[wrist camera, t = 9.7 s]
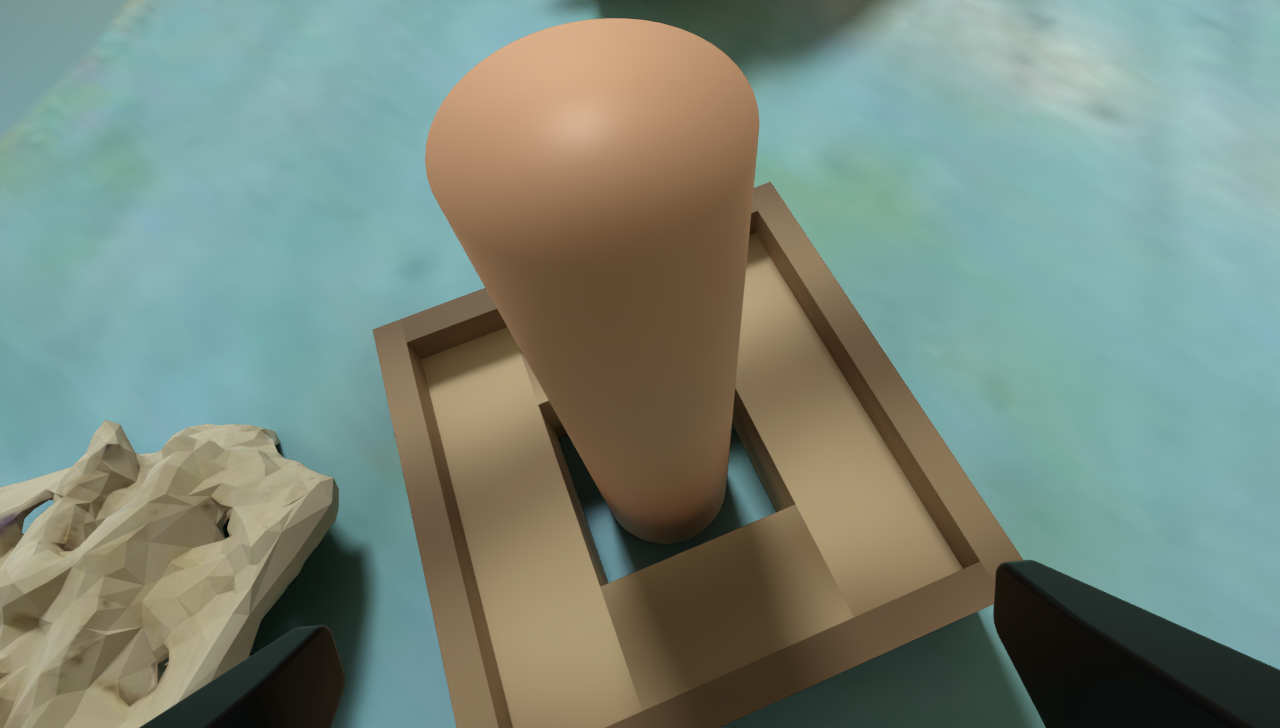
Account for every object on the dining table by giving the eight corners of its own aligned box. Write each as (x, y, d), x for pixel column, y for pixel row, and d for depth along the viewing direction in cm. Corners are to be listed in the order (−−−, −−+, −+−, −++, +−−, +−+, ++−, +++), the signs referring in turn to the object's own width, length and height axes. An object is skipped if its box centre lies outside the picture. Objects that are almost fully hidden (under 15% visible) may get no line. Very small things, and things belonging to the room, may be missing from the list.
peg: (752, 486, 18) (832, 122, 6) (659, 571, 17) (555, 332, 5) (670, 403, 19) (612, -21, 8) (581, 477, 18) (366, 130, 7)
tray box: (974, 603, 16) (1038, 583, 13) (526, 803, 15) (479, 835, 12) (761, 255, 21) (770, 181, 18) (423, 384, 20) (372, 329, 17)
